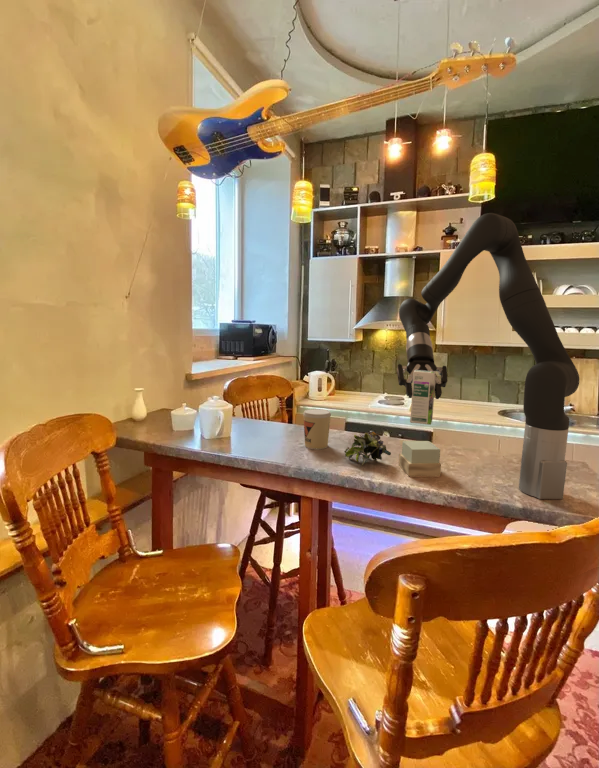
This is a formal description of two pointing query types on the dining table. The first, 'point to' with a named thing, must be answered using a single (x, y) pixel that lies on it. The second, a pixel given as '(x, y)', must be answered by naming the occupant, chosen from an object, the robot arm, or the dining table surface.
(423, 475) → the tower base
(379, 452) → the passion flower
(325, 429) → the coffee cup
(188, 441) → the dining table surface
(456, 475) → the dining table surface
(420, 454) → the tower top
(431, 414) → the syrup box
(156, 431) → the dining table surface
